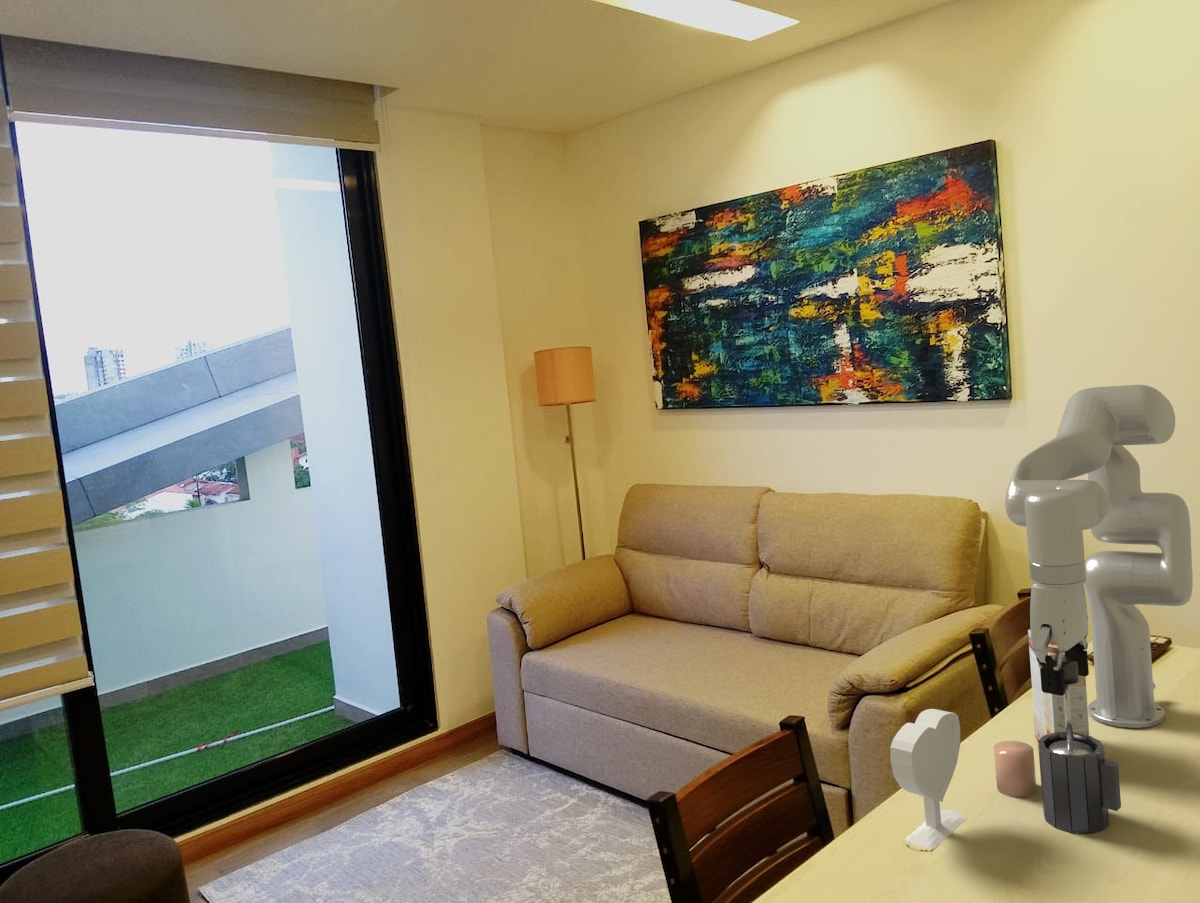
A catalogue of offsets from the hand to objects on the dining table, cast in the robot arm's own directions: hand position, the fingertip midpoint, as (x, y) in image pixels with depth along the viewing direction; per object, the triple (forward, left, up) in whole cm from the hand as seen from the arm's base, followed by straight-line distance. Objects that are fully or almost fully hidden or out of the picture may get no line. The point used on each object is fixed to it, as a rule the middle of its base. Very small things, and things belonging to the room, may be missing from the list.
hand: (1065, 683), depth 140 cm
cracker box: (-20, -10, -22) cm, 31 cm away
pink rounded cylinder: (-4, -11, -22) cm, 25 cm away
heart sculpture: (+15, -15, -22) cm, 31 cm away
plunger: (0, 0, -11) cm, 11 cm away
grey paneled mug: (0, 0, -22) cm, 22 cm away
